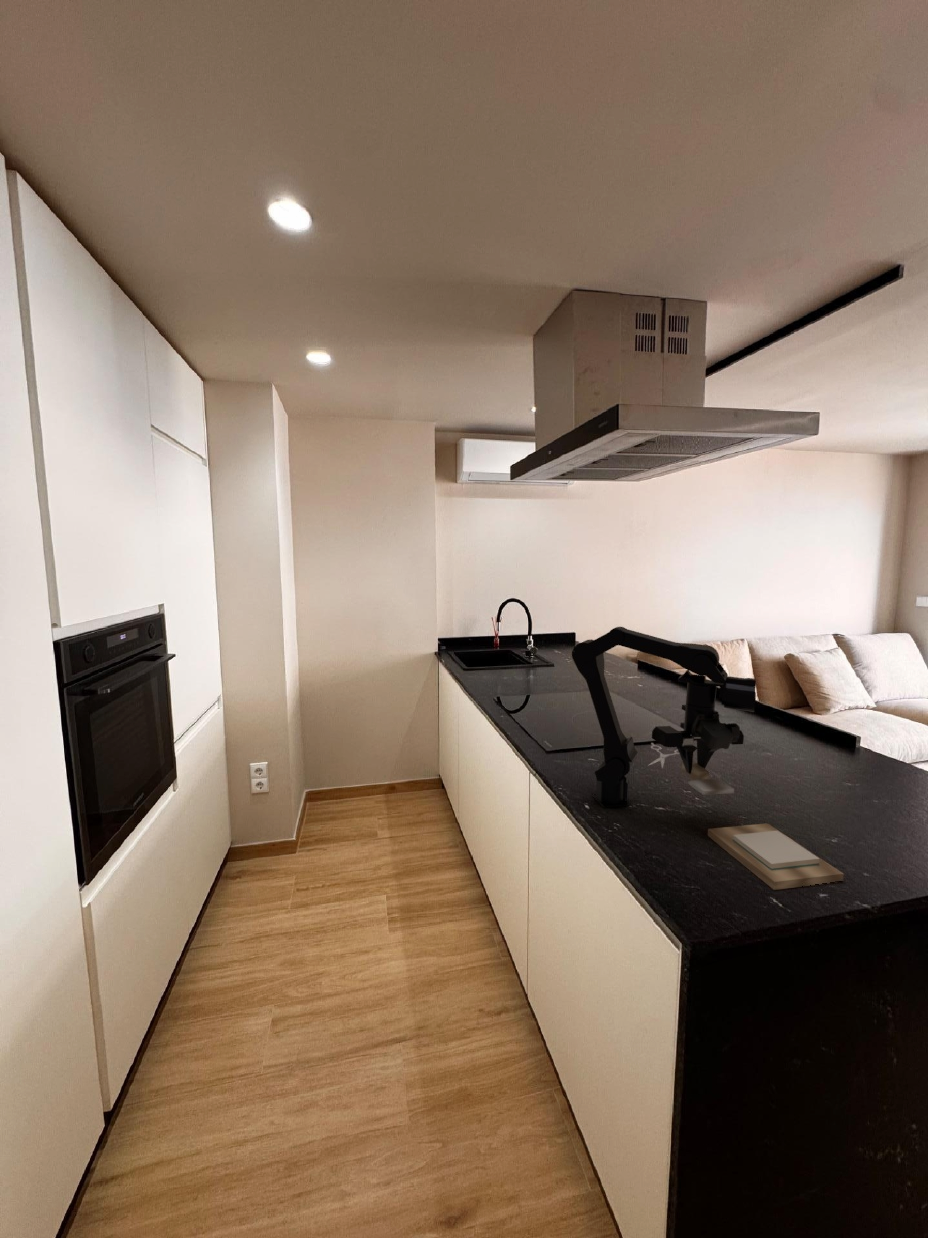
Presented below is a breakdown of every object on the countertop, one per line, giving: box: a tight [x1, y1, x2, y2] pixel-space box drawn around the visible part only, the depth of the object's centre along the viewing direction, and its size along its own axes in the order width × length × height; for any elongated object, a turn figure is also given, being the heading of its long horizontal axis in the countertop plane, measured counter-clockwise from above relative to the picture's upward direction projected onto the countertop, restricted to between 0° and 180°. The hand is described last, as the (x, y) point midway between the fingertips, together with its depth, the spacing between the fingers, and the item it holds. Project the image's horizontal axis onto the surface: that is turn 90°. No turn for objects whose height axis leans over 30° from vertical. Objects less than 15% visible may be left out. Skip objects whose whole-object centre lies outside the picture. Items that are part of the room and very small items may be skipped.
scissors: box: [647, 742, 680, 769], centre depth 149 cm, size 11×1×20 cm
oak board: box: [707, 822, 844, 891], centre depth 98 cm, size 14×18×2 cm
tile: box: [733, 830, 820, 870], centre depth 97 cm, size 10×1×10 cm
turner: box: [680, 760, 735, 796], centre depth 108 cm, size 7×11×2 cm, turn 10°
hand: (694, 772), depth 111 cm, fingers closed on turner, 2 cm apart
